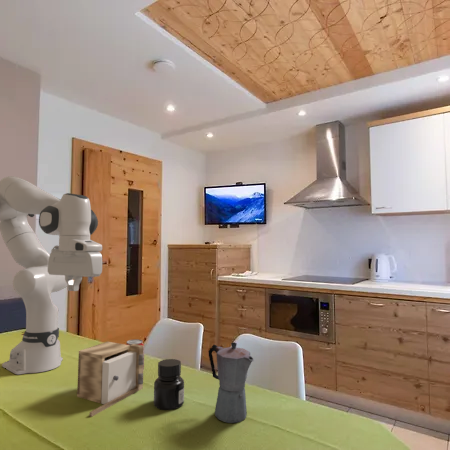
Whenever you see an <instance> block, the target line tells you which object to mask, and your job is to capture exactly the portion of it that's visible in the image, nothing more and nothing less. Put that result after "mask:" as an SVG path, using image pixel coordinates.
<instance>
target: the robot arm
mask: <svg viewBox="0 0 450 450" xmlns="http://www.w3.org/2000/svg"><path fill="white" fill-rule="evenodd" d="M91 207H92V206H91V201H90V199H89V197H87V196H86V195H84V194H83V195H82V194H76V193H70V192H69V193H68V192H66V193H64V194H62V196H61V199H60V198H58V197H56V196H55V195H53V194H51V193H49V192H47V191H45V190H43V188H40V187H39V186H37V185H35V184H34V183H32V182H30V181H28V180H26V179H24V178H21V177H18V176H6V177H4V178H2V179H1V180H0V234H1V237H2V240H3V242H4V243H5V246H6V247H7V249H8V251H9V252H10V255H11V256H12V258H13V260H14V261H15V263H17V265H19V266H21V267H23V269H21V270H19V271H18V272H16V274H15V275H14V276H13V279H12V287H13V289H14V291H15V293H16V294H17V295H19V296H20V297H21V299H22V302H23V304H24V307H25V314H26V315H25V316H26V317H25V331H21V336H22V339H21V341H20V342H19V343H18V344H16V345H15V346H14V347H13V348H12V349H11V351H10V354H9V360H7V361H5V362H3V363H2V364H1V367H2V368H3V369H5V368H6V370H7V371H9V372H11V373H12V374H15V375H23V374H35V373H42V372H48V371H50V370H54V369H56V368H59V367H60V366H61V364H62V361H63V357H62V355H61V342H60V340H59V337H60V328H59V308H58V306H57V305H56V304H55V303H54V301H53V299H52V293H55V292H57V293H58V292H60V291H62V290H64V289H65V288H66V289H67V291H68V292H78V291H79V289H80V284H81V283H82V280H83V277H84V278H97V277H100V276H101V274H102V273H103V255H102V253H101V252H102V251H103V244H101V243H99V242H96V241H94V240H92V239H91V235H93V233H95V232H96V230H97V228H98V225H99V220H98V217H97V215H96V213H95V211H94V210H92V208H91ZM35 215H37V216H38V225H39V227H40V229H41V230H42V232H44V234H47V235H52V236H59V237H58V245H54V246H53V247H52V248H51V251H50V253H49V251H48V250H46V248H45V247H44V246H43V245H42V242H41V241H40V239H39V238H38V235H37V234H36V233H35V230H34V229H33V228H32V227H31V225H30V224H29V221H28V217H30V218H34V216H35Z"/></svg>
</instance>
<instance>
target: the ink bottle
mask: <svg viewBox="0 0 450 450" xmlns="http://www.w3.org/2000/svg"><path fill="white" fill-rule="evenodd" d="M181 372H182V363H181V360H180V359H176V358H175V359H174V358H166V359H162V360H160V361H159V362H158V363H157V376H158V377H157V378H156V379H155V380H154V381H153V406H154V407H155V408H156V409H157V410H162V411H171V410H176V409H178V408H181V407H182V406H183V404H184V403H185V380H184V379H183V377H181V374H182V373H181Z"/></svg>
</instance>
